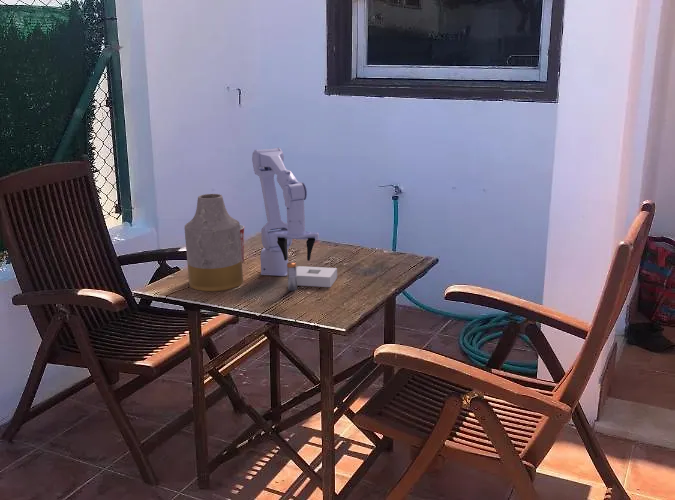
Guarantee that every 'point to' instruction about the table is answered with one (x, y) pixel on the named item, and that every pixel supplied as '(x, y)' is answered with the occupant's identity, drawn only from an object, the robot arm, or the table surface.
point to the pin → (292, 276)
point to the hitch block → (316, 276)
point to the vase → (213, 247)
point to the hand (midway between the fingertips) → (297, 259)
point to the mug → (242, 241)
